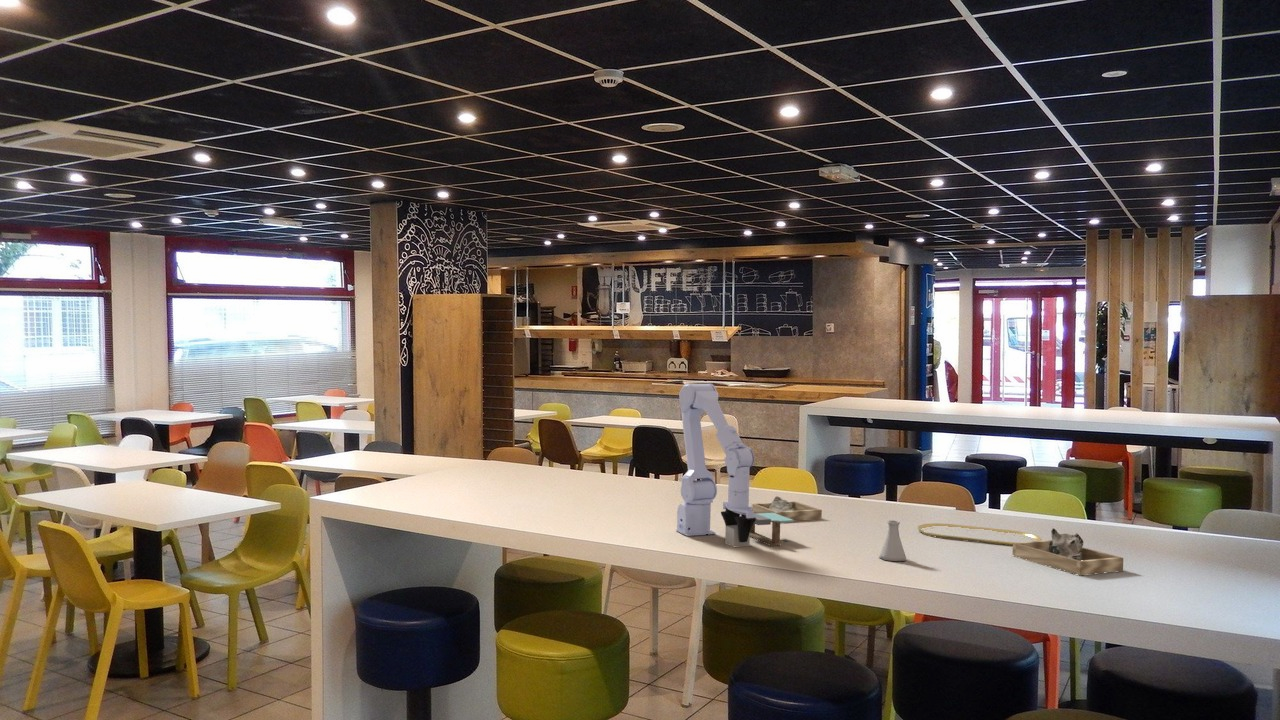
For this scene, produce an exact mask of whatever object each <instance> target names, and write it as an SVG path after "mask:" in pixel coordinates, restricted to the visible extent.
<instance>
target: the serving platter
mask: <svg viewBox="0 0 1280 720" xmlns="http://www.w3.org/2000/svg"><path fill="white" fill-rule="evenodd" d="M932 526H948V527H961V528H969V529H984V530H992V531H997V532H1004V533H1008V532H1009V533H1015V534H1016V533H1017V534H1021V535H1025V536H1028V537H1031V538H1034V539H1035V540H1037V541H1043V539H1042V537H1040V536H1039V535H1036V534H1033V533H1031V532H1030V533H1028V532H1024V531H1019V530H1012V529H1003V528H1002V529H1001V528H993V527H991V528H990V527H982V526H972V525H963V524H954V523H953V524H952V523H939V522H938V523H935V522H934V523H933V522H932V523H922V524H919V525H917V530H918V531H919V532H920V533H921V532H922V533H921V534H923V533H924V534H923V535H925V534H927V535H926V536H928V535H931V536H930V537H933V536H936V537H935V538H938V537H942V538H941V539H945V538H950V539H949V540H954V539H959V540H958V541H963V540H968V541H967V542H972V541H979V542H978V543H981V542H988V543H987V544H990V543H996V544H995V545H999V544H1005V545H1004V546H1009V545H1013V543H1016V542H1012V541H1001V540H993V539H983V538H975V537H965V536H956V535H947V534H939V533H933V532H930V531H925V530H921V529H922V528H926V527H932Z"/></svg>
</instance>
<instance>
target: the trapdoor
mask: <svg viewBox="0 0 1280 720" xmlns="http://www.w3.org/2000/svg"><path fill="white" fill-rule="evenodd" d="M754 517H755V518H756V521H755V522H754V524H755V526H756V525H757V526H765V525H766V526H767V525H772V521H773V520H778V521H780V524H782V523H794V522H795V521H794V520H792V519H789V518H787V517H784V516H781V515H778V514H775V513H758V514H756V513H754Z"/></svg>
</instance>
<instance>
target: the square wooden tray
mask: <svg viewBox="0 0 1280 720" xmlns="http://www.w3.org/2000/svg"><path fill="white" fill-rule="evenodd" d="M789 502H790V503H791V504H792V505H793V508H794V509H795V511H781V512H777V511H774V510H771V509H768V508H769V507H770V505H771V504H772V502H760V503H759V502H758V503H757V502H756V503H751V505H750V506H752V509H751V510H753V511H754V512H755V513H756V514H758V513H775V514H778V515H781V516H784V517H787V518H789V519H792V520H794V522H796V521H795V520H798V521H811V519H814V520H822V515H823V513H822V512H823V510H822V509H821V508H817V507H815V506H810V505H808V504H804V503H801V502H799V501H789Z"/></svg>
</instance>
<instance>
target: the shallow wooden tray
mask: <svg viewBox="0 0 1280 720" xmlns="http://www.w3.org/2000/svg"><path fill="white" fill-rule="evenodd" d="M1050 541H1053V540H1052V539H1049V540H1048V539H1046V540H1042V541H1034V540H1032V541H1022V542H1015V543H1013V546H1012V555H1014V556H1013V557H1015V556H1017V557H1016V558H1018V557H1020V558H1019V559H1021V558H1023V559H1022V560H1025V559H1027V560H1026V561H1028V560H1029V562H1031V561H1033V562H1032V563H1035V562H1036V563H1035V564H1038V563H1039V564H1038V565H1041V564H1043V565H1042V566H1045V565H1047V566H1046V567H1048V566H1051V567H1054V568H1053V569H1055V568H1057V569H1056V570H1058V569H1061V570H1060V571H1062V570H1065V571H1068V572H1071V573H1070V574H1072V573H1074V574H1073V575H1075V574H1078V575H1084V576H1087V575H1086V574H1094V575H1096V574H1095V573H1103V574H1105V573H1104V572H1113V573H1115V572H1114V571H1123V572H1124V557H1122V556H1118V555H1113V554H1109V553H1106V552H1102V551H1098V550H1096V549H1092V548H1087V547H1082V555H1081V560H1083V561H1079V560H1075V559H1072V558H1068V557H1065V556H1061V555H1057V554H1054V553H1050V552H1049V543H1050ZM1079 553H1080V552H1079ZM1079 553H1078V554H1079ZM1012 555H1011V556H1012ZM1051 567H1050V568H1051ZM1065 571H1064V572H1065ZM1068 572H1067V573H1068ZM1078 575H1077V576H1078Z"/></svg>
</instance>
